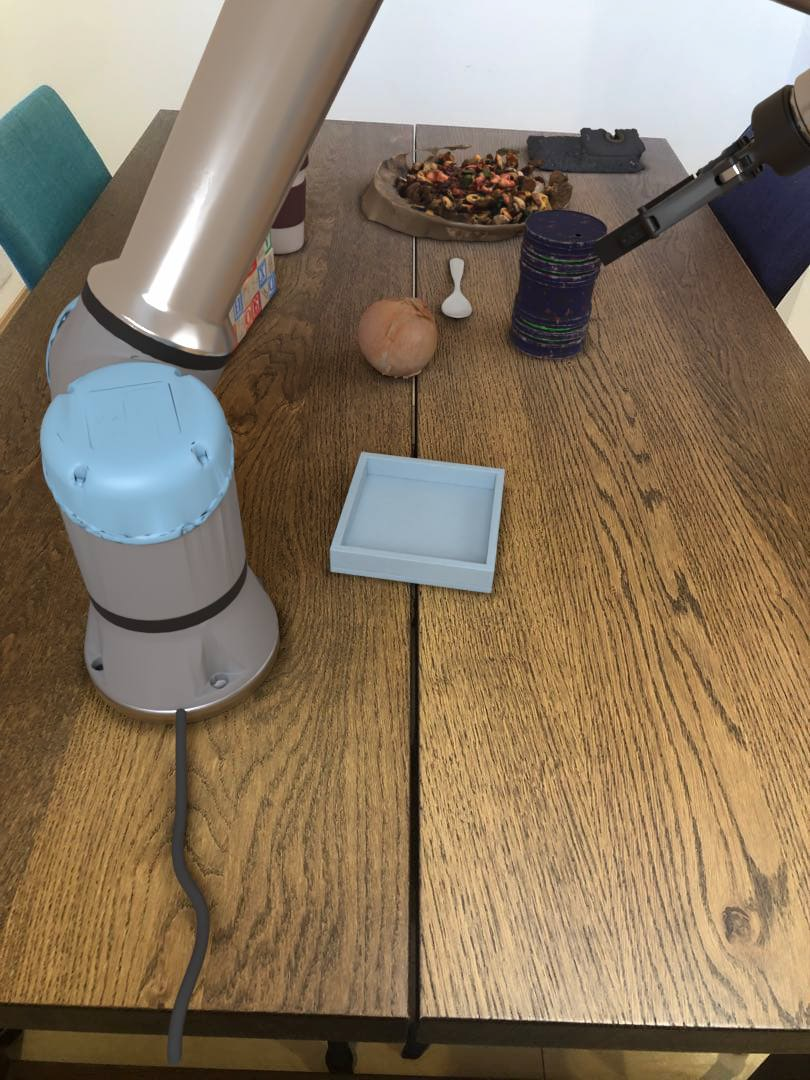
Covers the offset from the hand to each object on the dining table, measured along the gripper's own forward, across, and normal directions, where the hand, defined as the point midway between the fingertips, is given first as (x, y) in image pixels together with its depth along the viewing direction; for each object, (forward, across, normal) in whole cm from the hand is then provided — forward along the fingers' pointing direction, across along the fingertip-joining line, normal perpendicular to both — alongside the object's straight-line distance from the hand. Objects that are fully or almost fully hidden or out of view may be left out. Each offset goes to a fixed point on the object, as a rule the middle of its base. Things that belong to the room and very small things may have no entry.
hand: (625, 234), depth 92 cm
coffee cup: (+49, 0, +26) cm, 55 cm away
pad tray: (+11, -40, -11) cm, 43 cm away
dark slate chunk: (+35, +66, +13) cm, 76 cm away
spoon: (+28, +4, +6) cm, 29 cm away
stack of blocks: (+41, -23, +18) cm, 50 cm away
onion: (+24, -18, +2) cm, 30 cm away
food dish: (+39, +32, +17) cm, 53 cm away
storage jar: (+16, 0, -6) cm, 18 cm away
